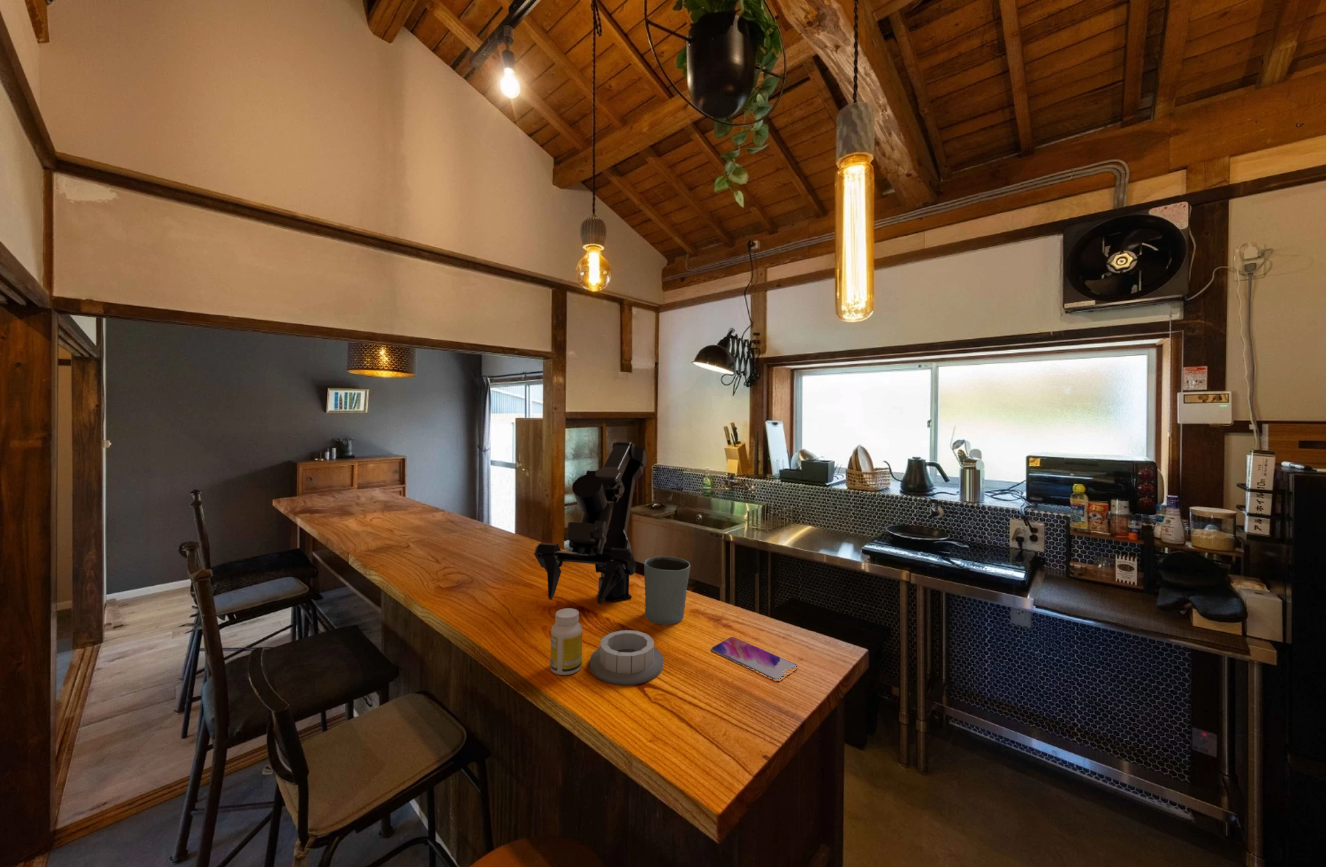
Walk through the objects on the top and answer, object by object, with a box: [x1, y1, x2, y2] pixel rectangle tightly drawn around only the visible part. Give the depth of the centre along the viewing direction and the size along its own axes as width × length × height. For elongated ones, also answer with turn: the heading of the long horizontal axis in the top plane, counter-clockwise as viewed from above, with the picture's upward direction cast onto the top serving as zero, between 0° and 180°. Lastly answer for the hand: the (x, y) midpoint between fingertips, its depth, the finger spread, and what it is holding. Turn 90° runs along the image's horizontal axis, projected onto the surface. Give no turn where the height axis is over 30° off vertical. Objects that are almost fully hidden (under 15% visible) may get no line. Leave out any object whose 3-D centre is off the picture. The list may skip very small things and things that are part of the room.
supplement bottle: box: [549, 607, 583, 676], centre depth 84 cm, size 5×5×10 cm
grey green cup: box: [643, 555, 691, 626], centre depth 106 cm, size 10×10×12 cm
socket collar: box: [589, 629, 664, 686], centre depth 85 cm, size 13×13×4 cm
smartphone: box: [710, 636, 798, 679], centre depth 89 cm, size 7×1×15 cm
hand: (574, 601), depth 87 cm, fingers open, 9 cm apart
